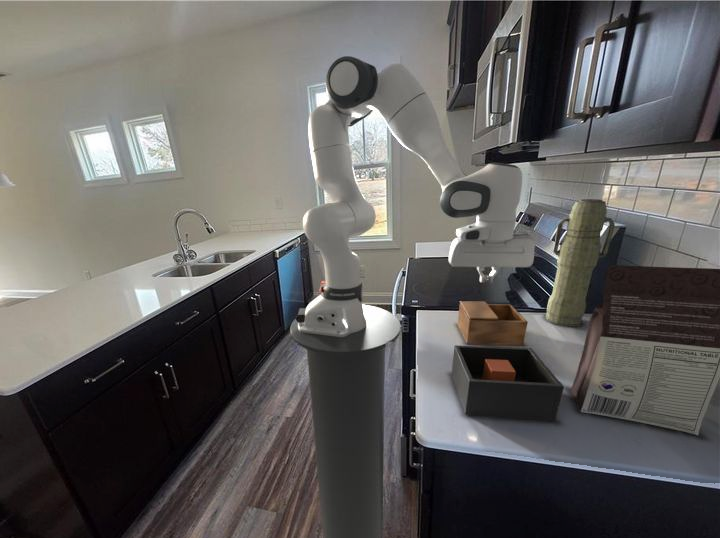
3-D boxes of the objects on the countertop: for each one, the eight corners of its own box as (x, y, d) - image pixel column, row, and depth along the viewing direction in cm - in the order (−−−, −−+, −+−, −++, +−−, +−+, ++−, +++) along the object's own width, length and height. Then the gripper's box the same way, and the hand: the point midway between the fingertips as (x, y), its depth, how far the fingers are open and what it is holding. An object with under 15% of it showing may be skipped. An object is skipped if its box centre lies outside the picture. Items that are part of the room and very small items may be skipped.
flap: (470, 319, 84) (470, 317, 84) (460, 302, 95) (460, 301, 95) (498, 319, 82) (498, 318, 82) (484, 302, 93) (484, 301, 93)
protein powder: (672, 405, 61) (731, 262, 51) (701, 438, 53) (777, 279, 43) (567, 387, 67) (601, 258, 57) (579, 414, 60) (620, 272, 50)
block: (487, 398, 64) (491, 370, 62) (481, 384, 68) (484, 359, 66) (510, 399, 64) (516, 372, 61) (503, 386, 68) (508, 359, 65)
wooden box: (466, 343, 86) (469, 320, 84) (457, 324, 97) (459, 303, 95) (523, 345, 84) (527, 321, 81) (507, 325, 95) (510, 304, 92)
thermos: (537, 312, 102) (560, 199, 90) (583, 317, 97) (614, 197, 84) (540, 323, 95) (565, 202, 83) (590, 329, 90) (625, 200, 77)
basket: (465, 414, 61) (469, 381, 59) (451, 374, 74) (454, 345, 71) (555, 421, 58) (564, 386, 56) (525, 378, 71) (531, 347, 68)
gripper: (533, 228, 82) (523, 279, 87) (450, 229, 86) (445, 277, 91) (544, 232, 76) (532, 286, 82) (454, 233, 80) (449, 285, 85)
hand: (485, 282), depth 86 cm, fingers closed
